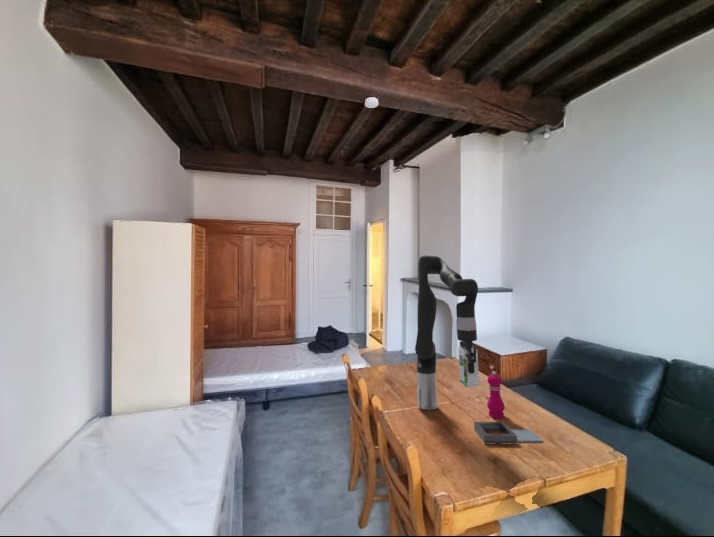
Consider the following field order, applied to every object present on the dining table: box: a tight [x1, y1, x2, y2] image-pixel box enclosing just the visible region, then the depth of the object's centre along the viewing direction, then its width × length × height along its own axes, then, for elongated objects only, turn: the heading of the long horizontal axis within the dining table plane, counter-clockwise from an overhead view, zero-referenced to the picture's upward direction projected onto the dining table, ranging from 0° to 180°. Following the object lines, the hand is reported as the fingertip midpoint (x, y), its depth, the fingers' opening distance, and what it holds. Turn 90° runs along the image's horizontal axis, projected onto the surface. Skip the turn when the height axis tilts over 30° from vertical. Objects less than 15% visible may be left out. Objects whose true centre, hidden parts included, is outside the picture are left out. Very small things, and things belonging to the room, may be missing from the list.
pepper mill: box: [486, 370, 506, 420], centre depth 139 cm, size 7×7×20 cm
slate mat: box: [511, 429, 544, 443], centre depth 119 cm, size 9×9×1 cm
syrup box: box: [458, 346, 480, 388], centre depth 122 cm, size 6×6×14 cm
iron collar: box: [473, 421, 518, 445], centre depth 120 cm, size 12×12×3 cm
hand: (468, 370), depth 122 cm, fingers closed on syrup box, 6 cm apart
